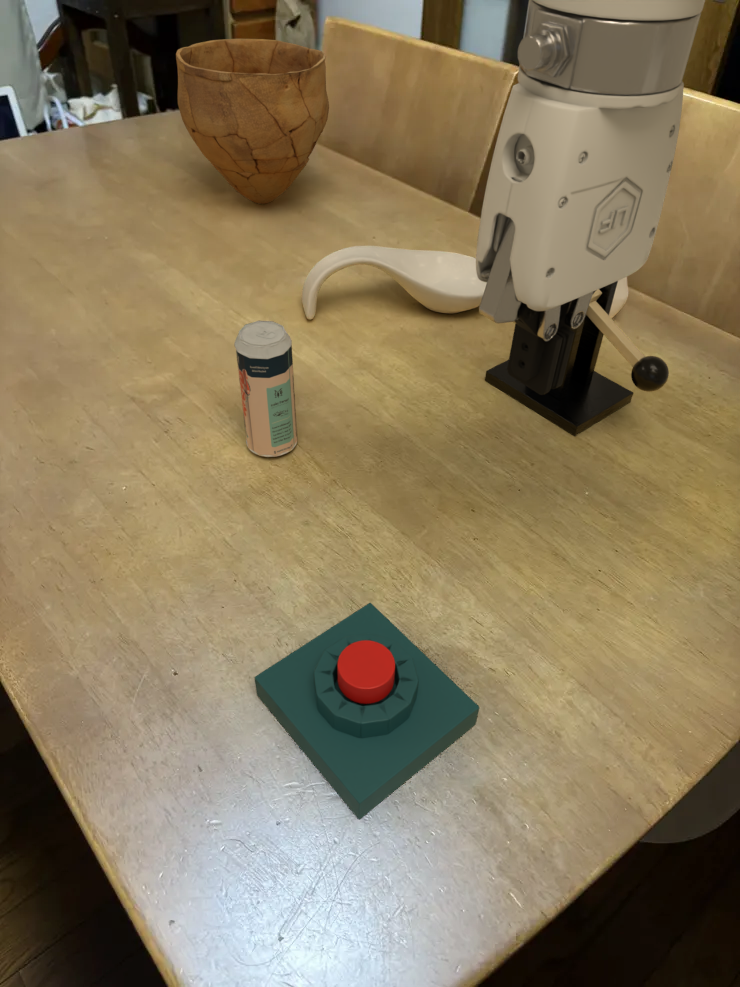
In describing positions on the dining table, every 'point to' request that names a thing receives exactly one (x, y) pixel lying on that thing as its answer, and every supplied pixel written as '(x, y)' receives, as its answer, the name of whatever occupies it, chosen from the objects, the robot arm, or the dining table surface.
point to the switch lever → (629, 350)
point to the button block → (366, 711)
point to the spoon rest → (407, 276)
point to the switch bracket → (572, 381)
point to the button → (366, 672)
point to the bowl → (253, 109)
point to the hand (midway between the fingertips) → (533, 380)
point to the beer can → (267, 387)
